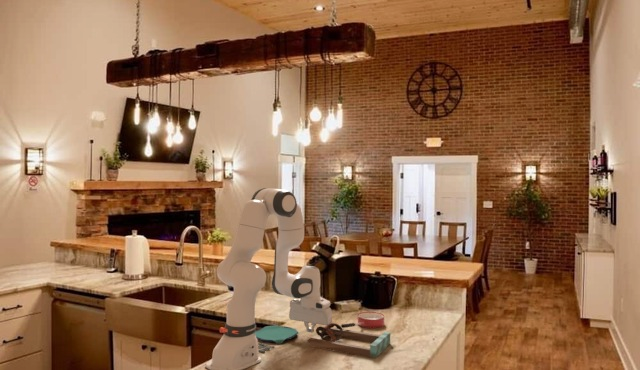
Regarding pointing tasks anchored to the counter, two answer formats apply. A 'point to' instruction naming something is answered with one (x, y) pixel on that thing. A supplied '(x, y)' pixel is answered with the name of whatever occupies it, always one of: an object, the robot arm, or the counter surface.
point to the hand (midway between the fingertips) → (310, 331)
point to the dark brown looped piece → (326, 331)
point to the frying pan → (368, 320)
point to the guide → (375, 348)
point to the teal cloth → (274, 335)
